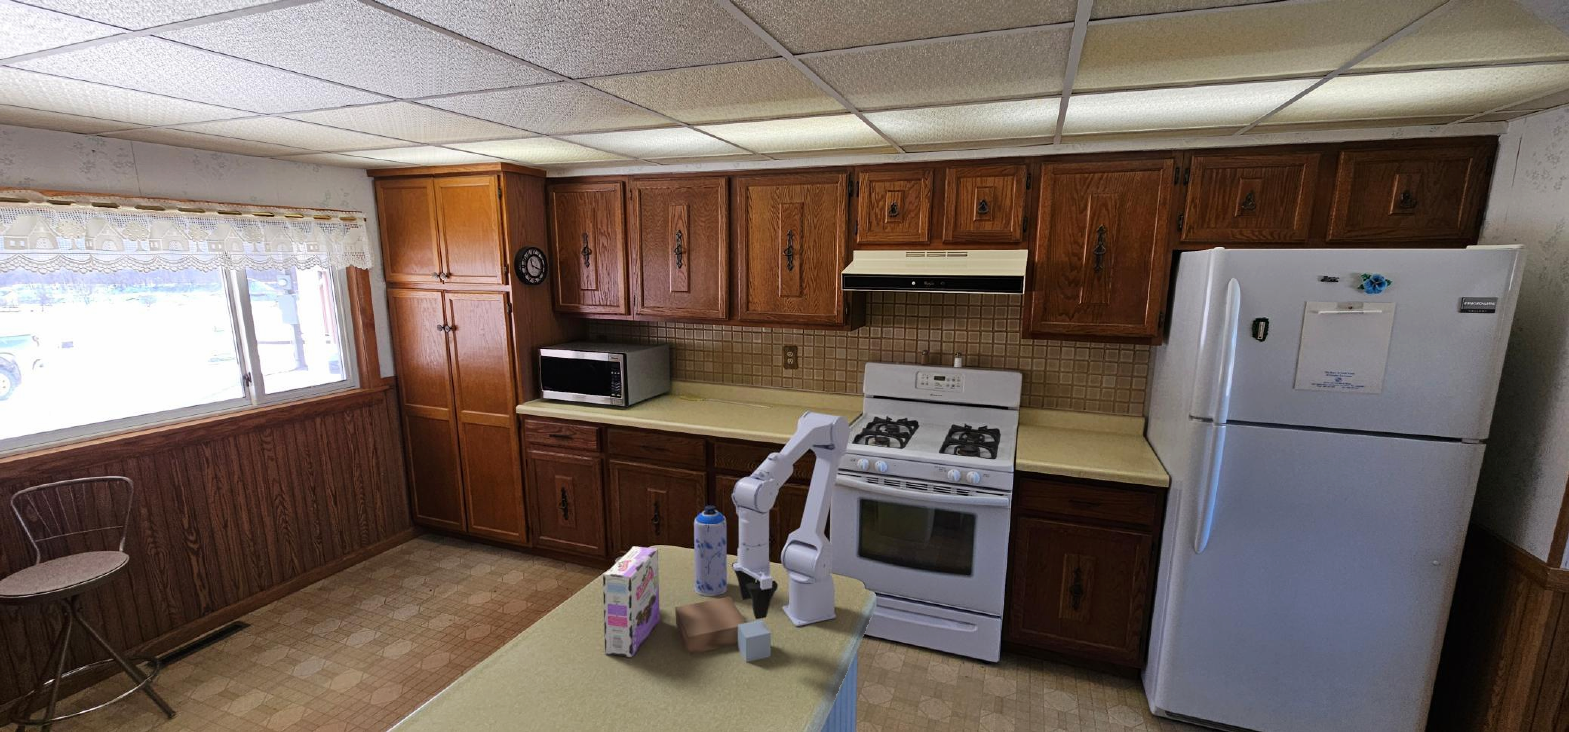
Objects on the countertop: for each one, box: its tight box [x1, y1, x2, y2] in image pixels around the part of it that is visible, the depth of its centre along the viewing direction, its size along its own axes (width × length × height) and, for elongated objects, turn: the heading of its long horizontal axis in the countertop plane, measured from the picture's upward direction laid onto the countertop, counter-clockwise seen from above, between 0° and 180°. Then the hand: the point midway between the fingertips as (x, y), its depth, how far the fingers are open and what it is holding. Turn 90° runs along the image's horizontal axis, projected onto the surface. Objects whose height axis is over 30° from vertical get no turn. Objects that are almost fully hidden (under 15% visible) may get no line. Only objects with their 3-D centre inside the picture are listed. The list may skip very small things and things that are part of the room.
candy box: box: [602, 546, 660, 658], centre depth 124 cm, size 14×6×16 cm, turn 168°
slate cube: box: [737, 619, 772, 663], centre depth 120 cm, size 5×5×5 cm
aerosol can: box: [693, 504, 729, 597], centre depth 144 cm, size 8×8×20 cm
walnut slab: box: [674, 596, 747, 655], centre depth 127 cm, size 12×12×4 cm
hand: (753, 607), depth 119 cm, fingers open, 7 cm apart
